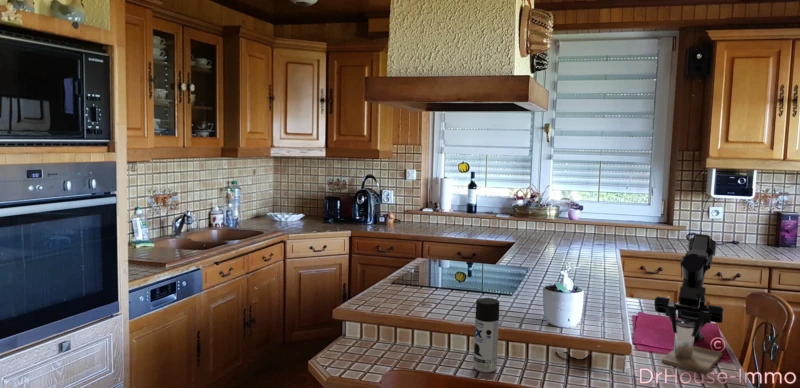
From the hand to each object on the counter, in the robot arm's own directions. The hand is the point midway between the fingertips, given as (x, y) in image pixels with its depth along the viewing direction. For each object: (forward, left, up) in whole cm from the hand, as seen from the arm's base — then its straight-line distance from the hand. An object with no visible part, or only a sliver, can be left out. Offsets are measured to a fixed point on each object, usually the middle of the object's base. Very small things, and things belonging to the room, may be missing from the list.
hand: (684, 334), depth 180 cm
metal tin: (-1, 0, -7) cm, 7 cm away
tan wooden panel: (-4, +2, -8) cm, 10 cm away
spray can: (+45, -40, -9) cm, 61 cm away
